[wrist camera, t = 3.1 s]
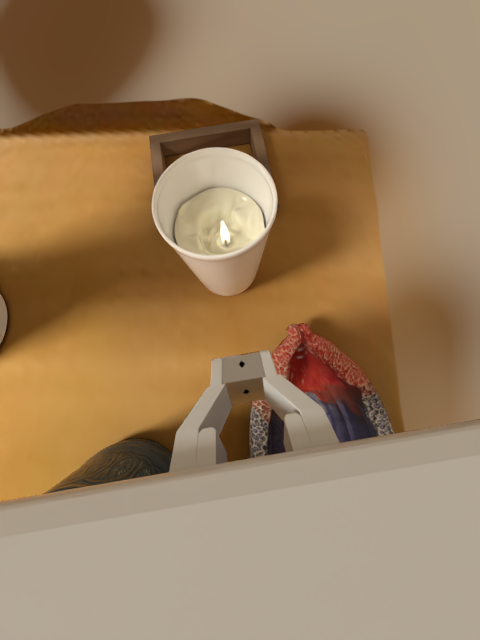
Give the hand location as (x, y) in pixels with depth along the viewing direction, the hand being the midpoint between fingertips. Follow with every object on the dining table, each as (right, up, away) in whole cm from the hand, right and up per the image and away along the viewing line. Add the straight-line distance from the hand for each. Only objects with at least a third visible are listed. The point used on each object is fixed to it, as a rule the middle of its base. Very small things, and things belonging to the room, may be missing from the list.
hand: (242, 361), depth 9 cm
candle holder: (-2, +10, +16) cm, 19 cm away
